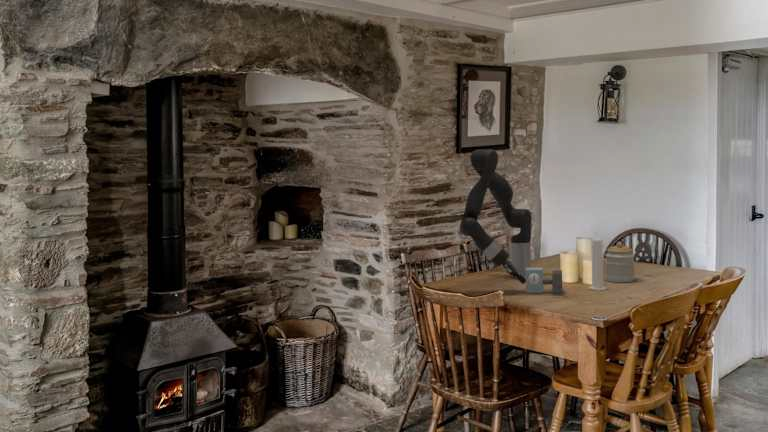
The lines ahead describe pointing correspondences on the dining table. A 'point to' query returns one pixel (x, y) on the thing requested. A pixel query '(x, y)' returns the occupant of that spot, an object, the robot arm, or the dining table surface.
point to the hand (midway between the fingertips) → (524, 282)
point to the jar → (620, 264)
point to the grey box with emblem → (535, 280)
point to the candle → (597, 264)
